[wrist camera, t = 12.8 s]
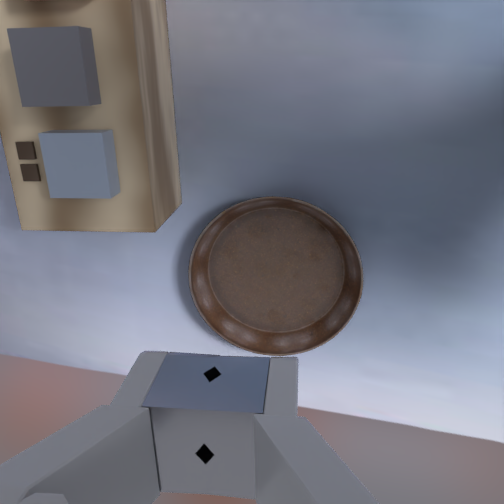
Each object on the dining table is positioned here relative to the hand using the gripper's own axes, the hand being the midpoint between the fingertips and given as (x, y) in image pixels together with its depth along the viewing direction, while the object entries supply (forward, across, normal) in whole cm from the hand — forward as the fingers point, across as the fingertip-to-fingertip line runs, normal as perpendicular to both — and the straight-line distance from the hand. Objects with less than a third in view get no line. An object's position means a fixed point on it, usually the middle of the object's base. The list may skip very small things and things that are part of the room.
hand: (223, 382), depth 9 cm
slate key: (+28, +16, +1) cm, 32 cm away
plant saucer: (+38, +1, +14) cm, 40 cm away
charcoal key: (+27, +16, -6) cm, 32 cm away
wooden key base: (+37, +17, -6) cm, 41 cm away
